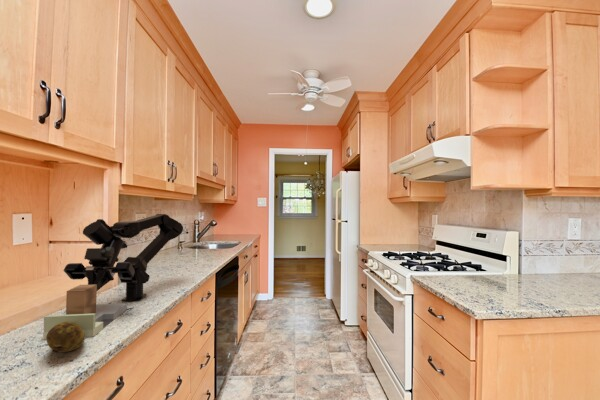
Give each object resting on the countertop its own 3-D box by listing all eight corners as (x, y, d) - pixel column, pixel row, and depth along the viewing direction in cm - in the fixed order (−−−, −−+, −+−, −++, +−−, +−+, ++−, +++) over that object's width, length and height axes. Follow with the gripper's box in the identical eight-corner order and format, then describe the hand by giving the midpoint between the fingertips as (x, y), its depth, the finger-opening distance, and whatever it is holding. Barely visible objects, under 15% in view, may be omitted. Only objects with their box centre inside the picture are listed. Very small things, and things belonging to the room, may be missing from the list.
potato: (97, 336, 76) (98, 307, 76) (74, 363, 63) (75, 327, 63) (61, 340, 73) (62, 310, 73) (29, 368, 61) (30, 332, 61)
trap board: (88, 310, 93) (88, 292, 93) (126, 309, 95) (127, 291, 95) (43, 339, 74) (43, 317, 74) (93, 336, 75) (93, 314, 75)
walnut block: (79, 318, 82) (80, 284, 82) (96, 317, 83) (96, 284, 83) (65, 327, 76) (66, 291, 77) (83, 326, 77) (84, 290, 77)
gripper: (68, 238, 88) (40, 282, 76) (131, 237, 91) (114, 280, 79) (82, 258, 95) (59, 301, 84) (141, 257, 98) (126, 298, 87)
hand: (89, 295), depth 84 cm, fingers closed
